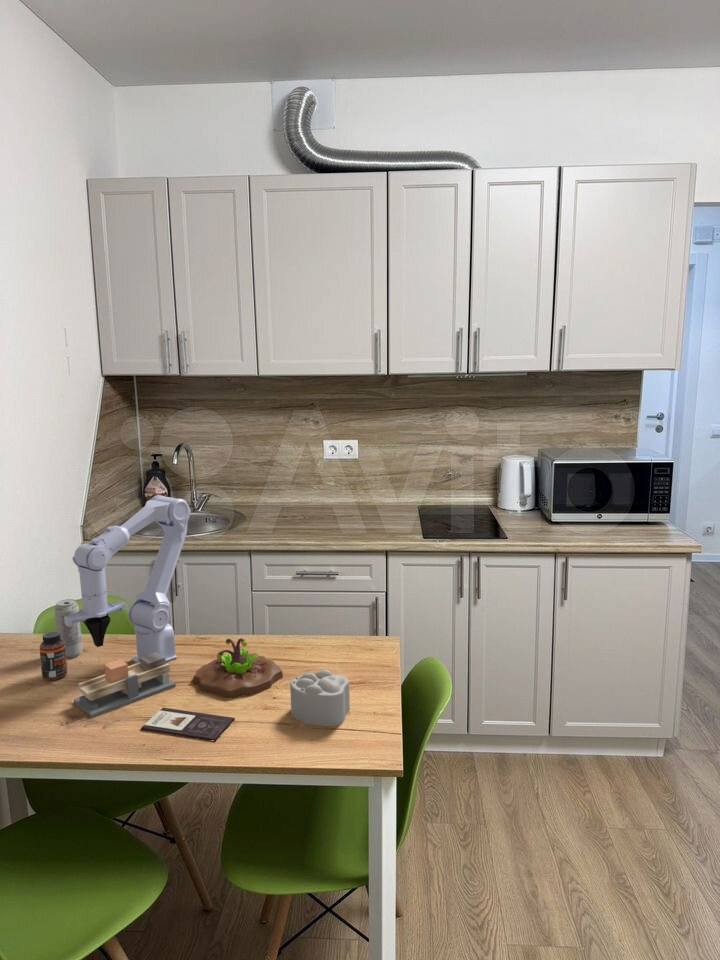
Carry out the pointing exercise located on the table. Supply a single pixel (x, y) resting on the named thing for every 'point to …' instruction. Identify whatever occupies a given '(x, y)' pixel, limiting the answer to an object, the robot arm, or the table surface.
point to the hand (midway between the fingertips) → (98, 645)
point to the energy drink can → (68, 627)
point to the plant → (237, 673)
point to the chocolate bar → (188, 724)
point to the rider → (116, 671)
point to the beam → (144, 671)
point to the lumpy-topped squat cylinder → (320, 698)
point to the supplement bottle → (53, 656)
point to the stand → (125, 695)
